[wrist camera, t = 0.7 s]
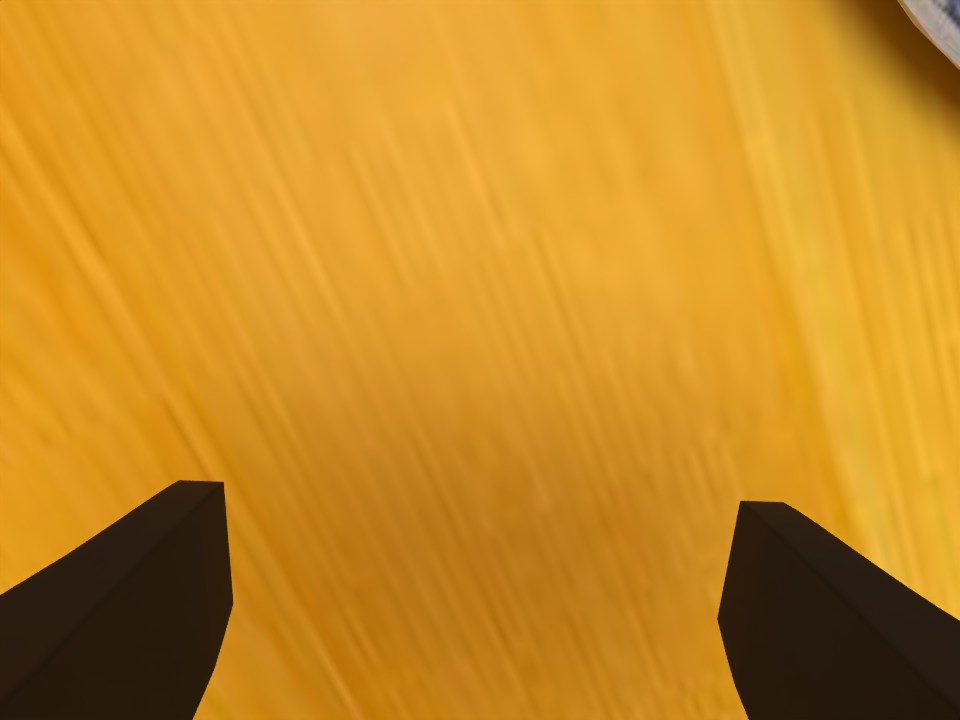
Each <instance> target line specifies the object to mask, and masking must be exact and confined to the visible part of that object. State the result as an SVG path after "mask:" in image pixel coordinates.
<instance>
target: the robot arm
mask: <svg viewBox="0 0 960 720" xmlns="http://www.w3.org/2000/svg"><path fill="white" fill-rule="evenodd" d="M232 606H233V593H232V580H231V568H230V556H229V543H228V531H227V519H226V506H225V494H224V482H212V481H185V480H179V481H177V482H175V483H174V484H172V485H170V486H169V487H167V488H165V489H164V490H162V491H161V492H159V493H158V494H156V495H155V496H153V497H152V498H150V499H149V500H147V501H146V502H144V503H143V504H141V505H140V506H138V507H137V508H135V509H134V510H132V511H131V512H130V513H128V514H127V515H125V516H124V517H122V518H121V519H119V520H118V521H116V522H115V523H113V524H112V525H110V526H109V527H107V528H106V529H104V530H103V531H101V532H100V533H98V534H97V535H95V536H94V537H92V538H91V539H89V540H88V541H86V542H85V543H84V544H82V545H81V546H79V547H78V548H76V549H75V550H73V551H72V552H70V553H68V554H67V555H65V556H64V557H62V558H60V559H59V560H57V561H55V562H54V563H52V564H51V565H49V566H47V567H46V568H44V569H42V570H41V571H39V572H37V573H36V574H34V575H33V576H31V577H29V578H28V579H26V580H24V581H23V582H21V583H19V584H18V585H16V586H14V587H13V588H11V589H10V590H8V591H6V592H5V593H3V594H1V595H0V720H193V717H194V715H195V713H196V710H197V708H198V706H199V704H200V701H201V699H202V697H203V694H204V692H205V690H206V687H207V685H208V683H209V680H210V678H211V676H212V673H213V671H214V668H215V665H216V662H217V658H218V655H219V652H220V649H221V645H222V642H223V639H224V635H225V632H226V628H227V624H228V621H229V617H230V614H231V610H232ZM717 620H718V624H719V628H720V632H721V636H722V640H723V644H724V648H725V652H726V655H727V659H728V663H729V666H730V670H731V673H732V677H733V680H734V684H735V687H736V689H737V692H738V694H739V697H740V699H741V702H742V704H743V706H744V709H745V711H746V714H747V716H748V719H749V720H960V621H959V620H958V619H956V618H954V617H953V616H951V615H950V614H948V613H946V612H945V611H943V610H942V609H940V608H938V607H937V606H935V605H934V604H932V603H931V602H929V601H928V600H926V599H925V598H923V597H922V596H920V595H919V594H917V593H916V592H914V591H913V590H911V589H910V588H908V587H907V586H905V585H904V584H902V583H901V582H899V581H898V580H896V579H895V578H894V577H892V576H891V575H889V574H888V573H886V572H885V571H884V570H882V569H881V568H879V567H878V566H876V565H875V564H873V563H872V562H871V561H869V560H868V559H866V558H865V557H864V556H862V555H861V554H859V553H858V552H856V551H855V550H854V549H852V548H851V547H849V546H848V545H847V544H845V543H844V542H842V541H841V540H840V539H838V538H837V537H835V536H834V535H833V534H831V533H830V532H828V531H827V530H825V529H824V528H823V527H821V526H820V525H818V524H817V523H815V522H814V521H812V520H811V519H810V518H808V517H807V516H805V515H804V514H802V513H800V512H799V511H797V510H796V509H794V508H792V507H791V506H789V505H787V504H786V503H784V502H761V501H740V505H739V510H738V515H737V520H736V526H735V531H734V536H733V541H732V546H731V551H730V556H729V561H728V567H727V572H726V577H725V582H724V587H723V592H722V597H721V603H720V608H719V613H718V618H717Z"/></svg>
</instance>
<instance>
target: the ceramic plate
mask: <svg viewBox="0 0 960 720" xmlns="http://www.w3.org/2000/svg"><path fill="white" fill-rule="evenodd" d="M897 1H898V2H899V4H900V5H901V7H902V8H903V10H904V11H905V12H906V14H907V15H908V17H909V18H910V20H911V21H912V23H913V24H914V25H915V26H916V27H917V28H918V29H919V30H920V31H921V32H922V33H923V34H924V35H925V36H926V37H927V38H928V39H929V40H930V41H931V42H932V43H933V44H934V45H935V46H936V47H937V48H938V49H939V50H940V51H941V52H942V53H943V54H944V55H945V56H946V57H947V58H948V59H949V60H950V61H951V62H952V63H953V64H954V65H955V66H956V67H957V68H958V69H959V70H960V0H897Z"/></svg>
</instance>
